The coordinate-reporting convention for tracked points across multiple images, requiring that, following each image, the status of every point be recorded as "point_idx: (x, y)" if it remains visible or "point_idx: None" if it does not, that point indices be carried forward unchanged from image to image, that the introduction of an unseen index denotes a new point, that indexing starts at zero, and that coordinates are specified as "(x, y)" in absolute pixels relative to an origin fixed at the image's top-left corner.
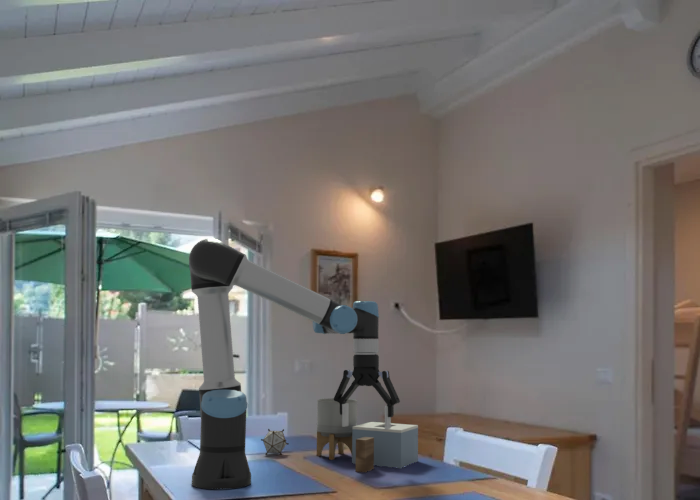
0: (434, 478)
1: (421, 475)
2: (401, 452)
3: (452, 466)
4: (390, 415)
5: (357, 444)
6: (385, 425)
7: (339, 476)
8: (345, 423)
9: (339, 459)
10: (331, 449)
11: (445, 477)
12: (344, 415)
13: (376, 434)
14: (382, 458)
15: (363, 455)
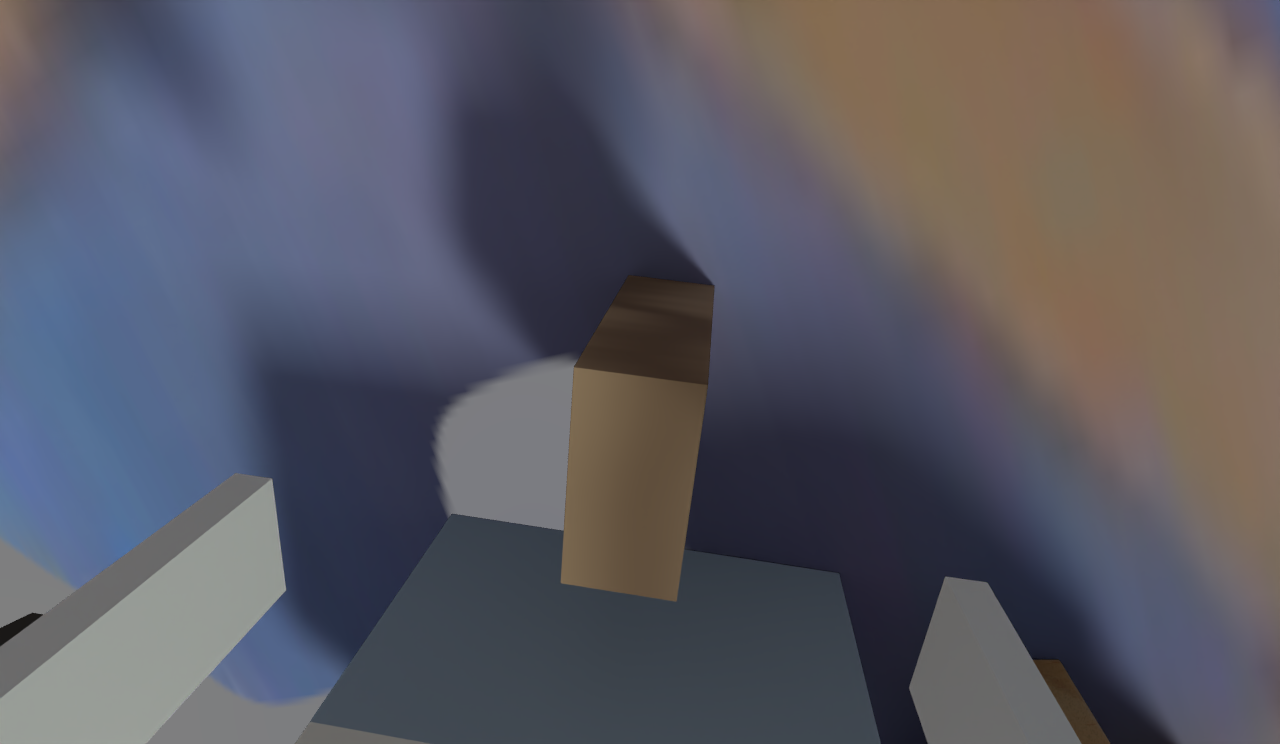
0: (108, 265)
1: (228, 334)
2: (403, 593)
3: (219, 667)
4: (9, 637)
5: (687, 359)
6: (223, 508)
7: (778, 4)
8: (951, 639)
9: None
10: (1075, 725)
11: (72, 329)
12: (1021, 729)
13: (600, 738)
14: None
15: (624, 315)
